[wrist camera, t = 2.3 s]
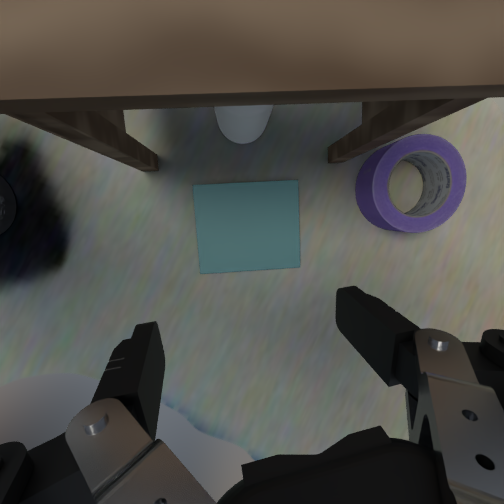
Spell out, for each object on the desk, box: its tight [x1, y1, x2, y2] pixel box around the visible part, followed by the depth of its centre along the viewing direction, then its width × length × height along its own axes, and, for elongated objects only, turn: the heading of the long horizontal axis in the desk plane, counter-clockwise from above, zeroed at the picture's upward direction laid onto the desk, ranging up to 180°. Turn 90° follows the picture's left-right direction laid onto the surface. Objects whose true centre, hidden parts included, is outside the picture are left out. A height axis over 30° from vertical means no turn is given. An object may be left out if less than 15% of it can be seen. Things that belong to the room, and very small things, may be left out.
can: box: [214, 105, 274, 144], centre depth 28 cm, size 6×6×12 cm
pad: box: [193, 180, 300, 274], centre depth 36 cm, size 12×14×1 cm
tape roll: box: [355, 134, 466, 233], centre depth 34 cm, size 12×12×5 cm
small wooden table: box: [0, 0, 504, 171], centre depth 22 cm, size 13×26×24 cm, turn 93°
